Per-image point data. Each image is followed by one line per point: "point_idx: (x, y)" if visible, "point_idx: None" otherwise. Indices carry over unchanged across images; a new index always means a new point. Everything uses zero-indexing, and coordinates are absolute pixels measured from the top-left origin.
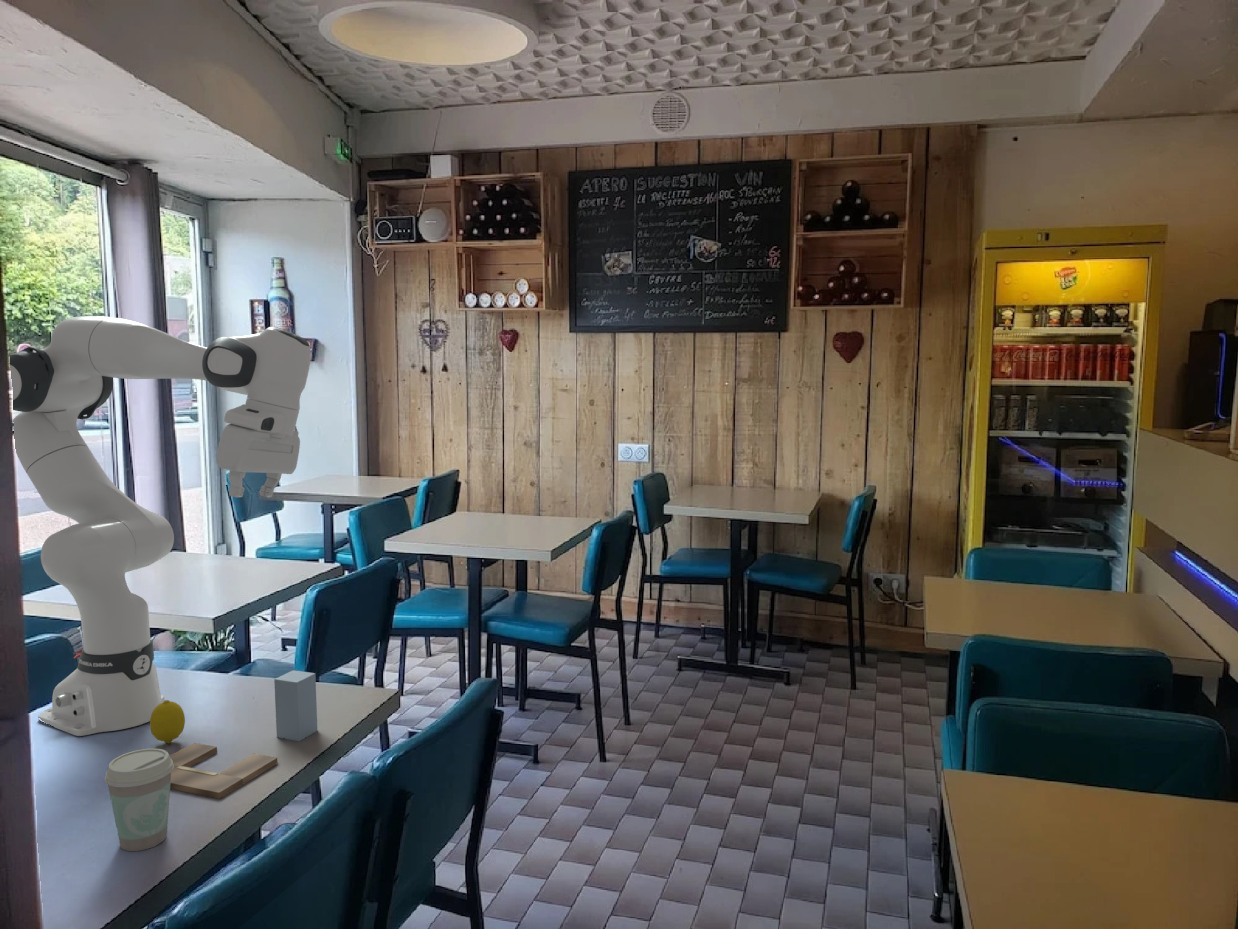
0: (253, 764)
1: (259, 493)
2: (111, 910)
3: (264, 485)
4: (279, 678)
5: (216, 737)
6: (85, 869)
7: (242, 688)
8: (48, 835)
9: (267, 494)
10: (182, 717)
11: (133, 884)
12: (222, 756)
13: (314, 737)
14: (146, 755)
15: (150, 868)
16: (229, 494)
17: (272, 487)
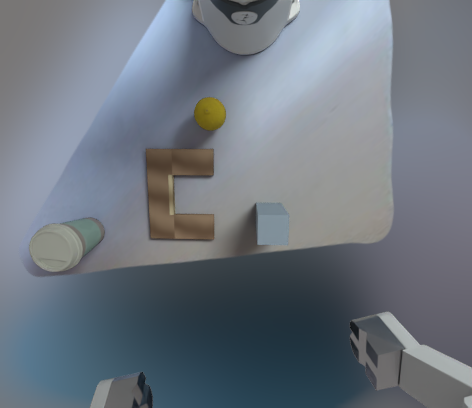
0: (196, 229)
1: (354, 323)
2: (35, 272)
3: (404, 356)
4: (261, 218)
5: (238, 149)
6: None
7: (355, 74)
8: (68, 163)
9: (357, 356)
10: (214, 128)
11: None
12: (209, 185)
13: None
14: (60, 248)
15: None
16: (101, 382)
17: (401, 388)
